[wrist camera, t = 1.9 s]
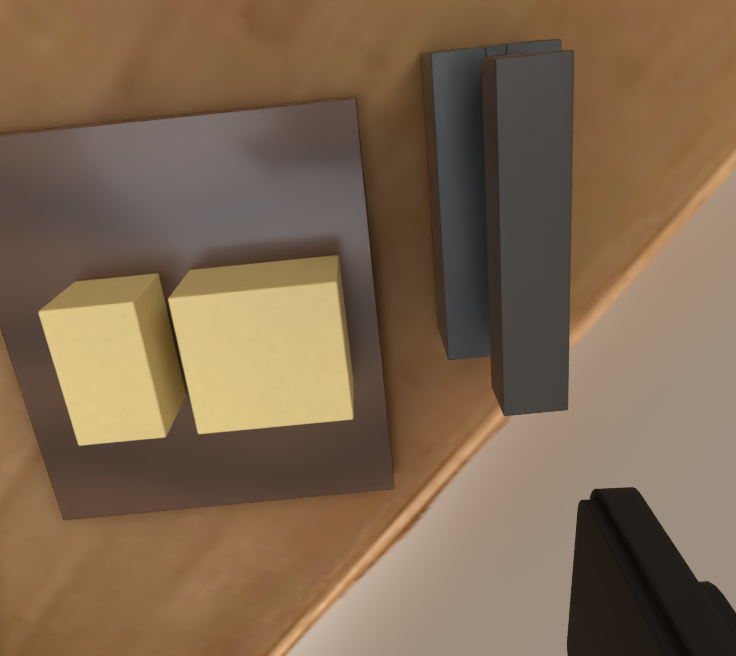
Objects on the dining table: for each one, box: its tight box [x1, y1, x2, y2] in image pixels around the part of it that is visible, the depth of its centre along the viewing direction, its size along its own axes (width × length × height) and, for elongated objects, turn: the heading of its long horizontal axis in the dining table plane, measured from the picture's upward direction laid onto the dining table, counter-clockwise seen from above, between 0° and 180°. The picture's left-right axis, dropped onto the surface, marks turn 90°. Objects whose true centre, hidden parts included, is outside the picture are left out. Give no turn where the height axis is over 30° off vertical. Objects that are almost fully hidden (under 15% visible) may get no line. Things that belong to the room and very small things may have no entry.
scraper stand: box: [421, 39, 561, 360], centre depth 30 cm, size 13×5×4 cm, turn 6°
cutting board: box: [0, 96, 394, 520], centre depth 33 cm, size 20×18×2 cm
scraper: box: [481, 50, 574, 416], centre depth 27 cm, size 12×2×10 cm, turn 6°
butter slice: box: [39, 273, 186, 446], centre depth 31 cm, size 6×4×4 cm, turn 6°
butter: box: [168, 255, 354, 434], centre depth 31 cm, size 6×7×4 cm
